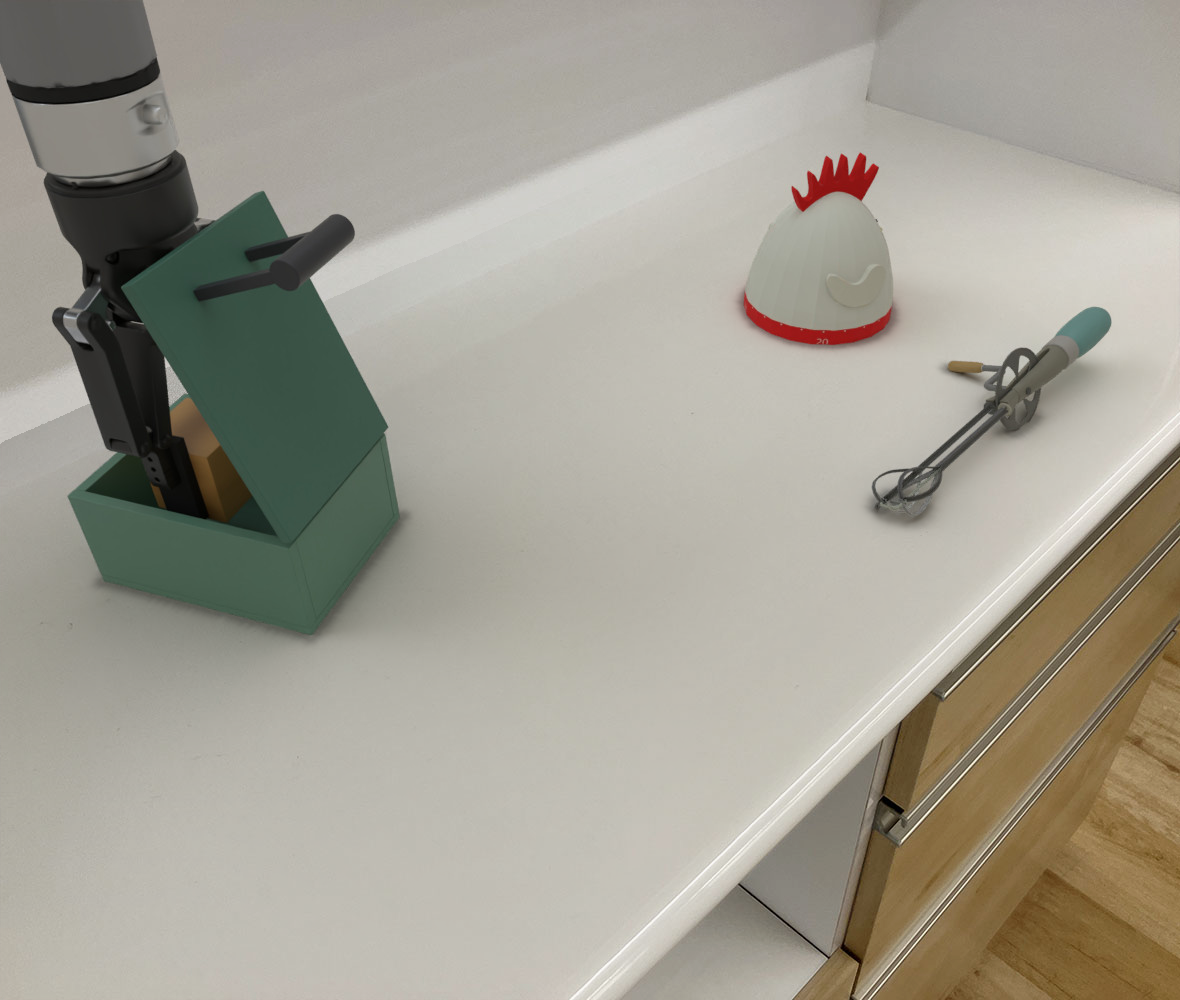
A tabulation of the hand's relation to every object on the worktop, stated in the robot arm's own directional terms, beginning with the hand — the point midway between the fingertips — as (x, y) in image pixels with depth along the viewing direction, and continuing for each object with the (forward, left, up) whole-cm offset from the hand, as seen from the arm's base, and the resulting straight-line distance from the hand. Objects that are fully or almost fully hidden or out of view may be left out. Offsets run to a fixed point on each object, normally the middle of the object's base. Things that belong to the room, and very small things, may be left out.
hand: (215, 487), depth 72 cm
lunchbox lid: (+3, +6, +11) cm, 13 cm away
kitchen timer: (-26, +52, -5) cm, 58 cm away
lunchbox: (+1, +2, -5) cm, 6 cm away
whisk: (-7, +58, -5) cm, 59 cm away
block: (0, 0, 0) cm, 0 cm away
